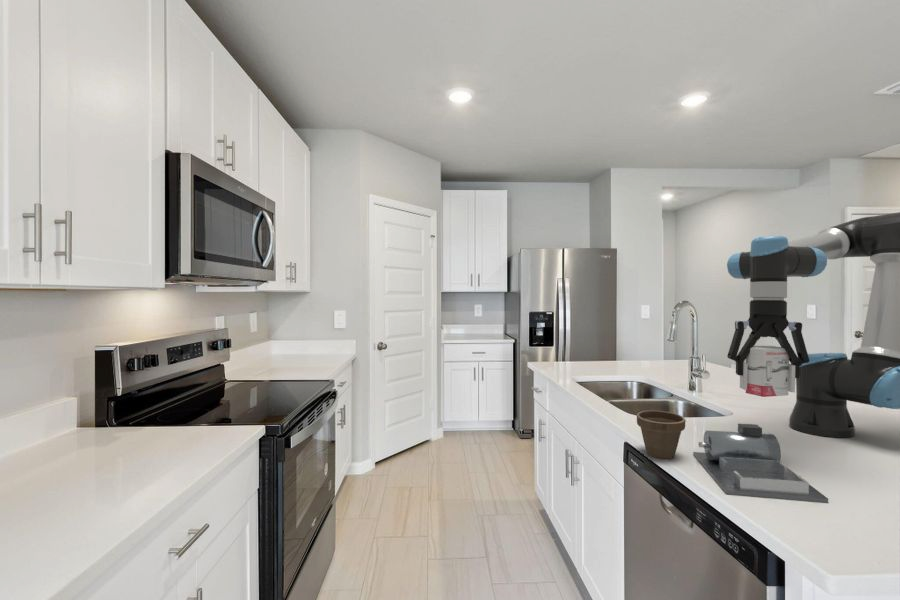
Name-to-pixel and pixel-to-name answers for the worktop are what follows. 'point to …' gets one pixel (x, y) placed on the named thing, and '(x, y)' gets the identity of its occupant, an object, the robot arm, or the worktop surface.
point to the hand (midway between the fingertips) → (766, 389)
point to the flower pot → (660, 432)
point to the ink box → (767, 371)
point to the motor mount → (752, 465)
